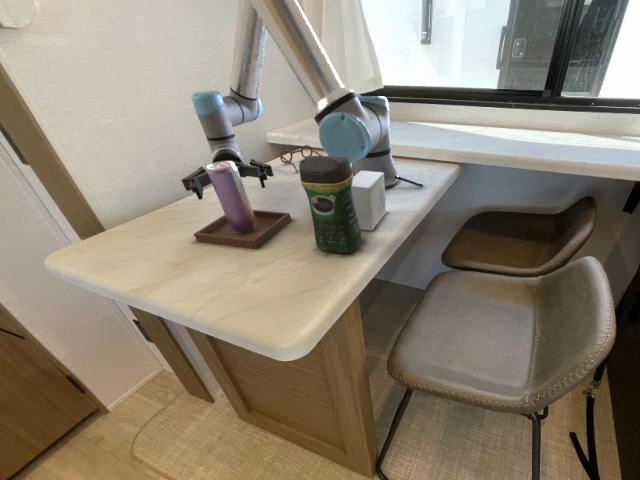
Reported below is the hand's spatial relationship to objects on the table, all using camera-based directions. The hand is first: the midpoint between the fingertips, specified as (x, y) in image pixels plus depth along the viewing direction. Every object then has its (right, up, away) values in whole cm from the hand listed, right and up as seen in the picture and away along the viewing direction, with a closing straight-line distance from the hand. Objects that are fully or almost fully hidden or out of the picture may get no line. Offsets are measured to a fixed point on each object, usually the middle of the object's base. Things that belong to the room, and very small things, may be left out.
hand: (230, 187), depth 71 cm
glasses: (+3, +25, +46) cm, 53 cm away
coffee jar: (+25, -14, -1) cm, 29 cm away
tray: (+1, -8, +6) cm, 10 cm away
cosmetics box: (+31, -6, +8) cm, 32 cm away
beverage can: (0, -8, +6) cm, 10 cm away
